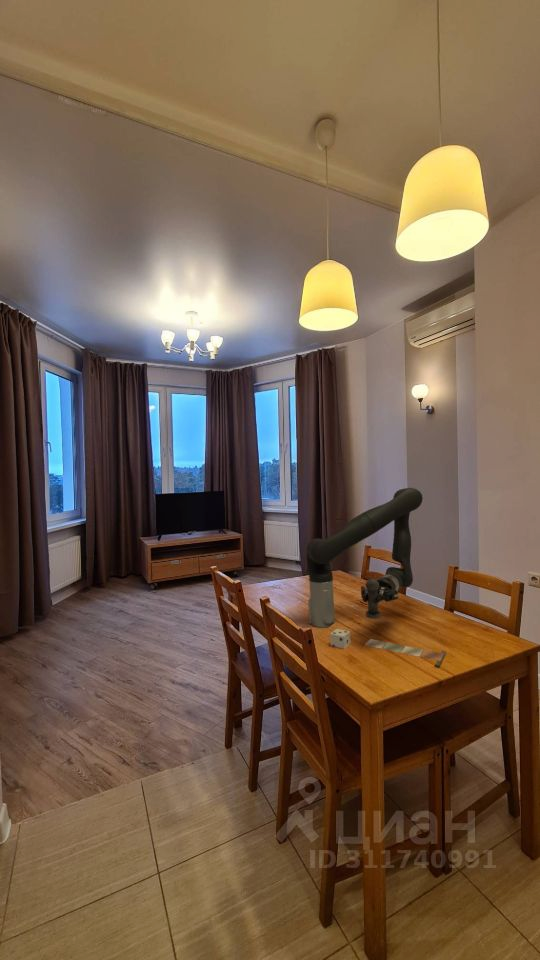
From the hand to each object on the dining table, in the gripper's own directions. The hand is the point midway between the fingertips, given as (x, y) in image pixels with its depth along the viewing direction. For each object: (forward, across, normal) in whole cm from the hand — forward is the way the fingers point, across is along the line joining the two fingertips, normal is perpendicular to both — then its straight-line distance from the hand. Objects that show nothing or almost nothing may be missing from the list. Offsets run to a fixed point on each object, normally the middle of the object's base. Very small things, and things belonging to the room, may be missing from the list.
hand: (369, 599), depth 128 cm
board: (-3, +9, +16) cm, 19 cm away
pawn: (-3, 0, +6) cm, 7 cm away
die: (+3, -10, +17) cm, 20 cm away
